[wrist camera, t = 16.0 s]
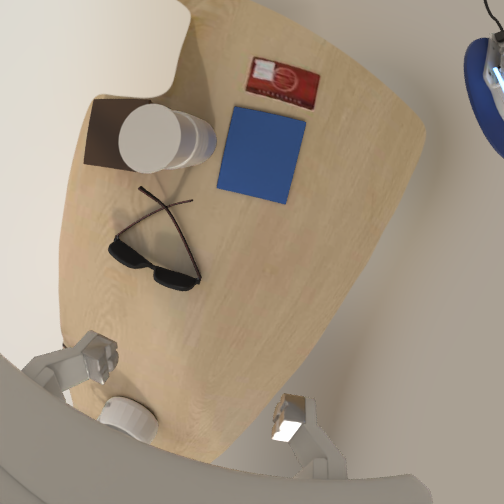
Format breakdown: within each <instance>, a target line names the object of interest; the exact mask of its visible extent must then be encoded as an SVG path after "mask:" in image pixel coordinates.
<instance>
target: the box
mask: <svg viewBox="0 0 504 504" xmlns="http://www.w3.org/2000/svg"><path fill="white" fill-rule="evenodd" d="M146 104H155V103H152V102H151V100H143V99H94V101H93V106H92V111H91V116H90V121H89V127H88V133H87V140H86V147H85V155H84V164H87V165H94V166H101V167H108V168H114V169H121V170H127V171H133V172H137V171H134V170H133V169H131V168H130V167H129V166H128V165H127V164H126V163H125V162H124V160H123V158H122V156H121V154H120V150H119V134H120V130H121V127H122V125H123V123H124V121H125V119H126V118H127V117H128V116H129V115H130V113H131V112H133V111H134V110H136V109H137V108H138V107H141V106H143V105H146ZM169 109H170V108H169Z"/></svg>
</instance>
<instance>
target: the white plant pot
mask: <svg viewBox="0 0 504 504" xmlns="http://www.w3.org/2000/svg"><path fill="white" fill-rule="evenodd" d="M97 421H99V422H101V423H103V424H105V425H107V426H109V427H111V428H113V429H115V430H117V431H119V432H121V433H123V434H126V435H128V436H130V437H132V438H135V439H137V440H139V441H142V442H144V443H147V444H150V443H151V442H152V440H153V439H154V437H155V436H156V434H157V431H158V426H159V425H158V422H157V420H156V418H155V417H154V415H153V414H152V413H151V412H150V411H149V410H148V409H146V408H145V407H144V406H142V405H141V404H139V403H137V402H135V401H133V400H131V399H128V398H125V397H112V398H110V399H109V400H108V401H107V402H106V404H105V406H104V407H103V410H102V412H101V415H99V417H98V418H97Z"/></svg>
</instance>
